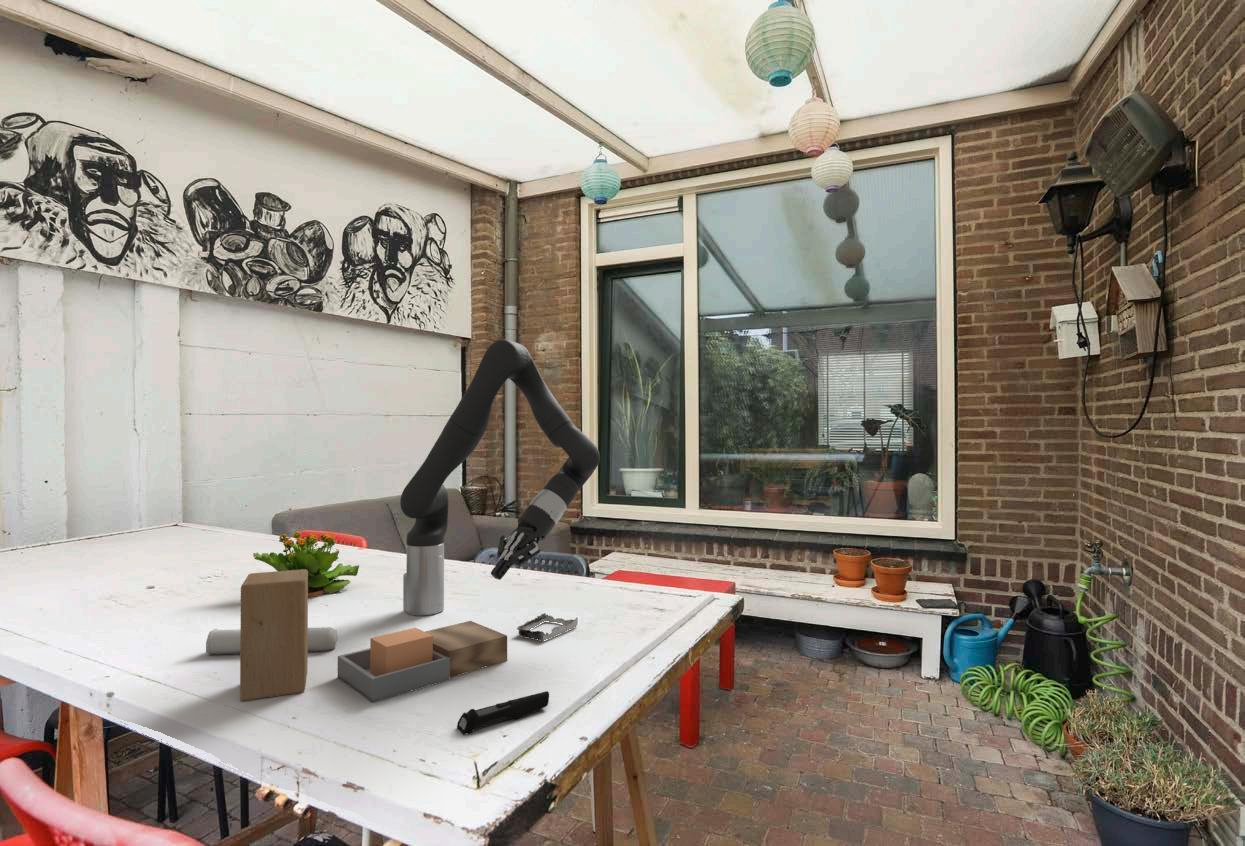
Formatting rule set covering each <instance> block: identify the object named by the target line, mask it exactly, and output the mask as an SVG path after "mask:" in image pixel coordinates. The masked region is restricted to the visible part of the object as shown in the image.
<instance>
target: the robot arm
mask: <svg viewBox="0 0 1245 846" xmlns="http://www.w3.org/2000/svg"><path fill="white" fill-rule="evenodd" d="M475 371H476V372H475V373H474V375H473V377H472V380H471V382H470V384H469V386H467V389H466V391H465V392H464V394H463V396H462V397H461V399H460V401H459V403H458V404H457V406H456V408H455V409H454V411H453V412H452V414H451V415H450V417H449V419H448V420H447V421H446V423H445V425H444V427H443V429H442V430H441V433H440V434H439V436H438V438H437V440H436V441H435V443H434V444H433V446H432V448H431V450H430V451H429V453H428V455H427V456H426V458H425V460H424V461H423V463H422V464H421V465H420V467H419V469H418V470H417V471H416V473H414V474H413V476H412V477H411V479H410V480H409V481H408V483H407V484H406V485H405V487H404V489H403V490H402V492H401V496H400V502H399V504H400V509H401V511H402V513H403V514H404V515H405V517H408V518H410V519H415V523H414V524H413V527H411V529H410V530H409V531H408V532H407V534H406V572H404V574H403V577H402V578H403V579H402V581H403V582H402V583H403V587H402V589H403V591H402V593H403V595H402V598H403V599H402V605H403V606H402V610H403V612H406V613H407V614H408V615H411V616H430V615H435V614H438V613H442V612H443V611H444V609H445V536H446V533H447V530H448V522H449V521H448V520H449V495H448V491H447V489H446V487H445V485H444V483H445V481H446V480H447V478H448V477H449V476H450V475H451V473H453V472H454V471H455V470H456V469H457V468H458V467H459V466H460V465H462V464H463V462H465V460H467V459H468V458H469V456H471V455H472V453H473V452H474V451H475V449H476V448H477V446H478V445H479V443H480V441H481V440H482V438H483V436H484V434H485V433H486V431H487V429H488V426H489V422H490V419H491V415H492V414H491V412H492V408H493V403H494V401H495V398H496V397H497V394H498V393H499V391H500V390H501V388H502V387H503V385H504V384H505V383H506V381H507V380H510V381H511V382H512V383H513V384H514V385H516V386H517V388H518V389H519V390H520V392H522V394H523V395H524V397H525V398H526V401H527V402H528V404H529V407H530V409H531V412H532V415H533V417H534V419H535V421H536V423H537V425H538V426H539V428H540V429H541V431H542V432H543V434H545V436H546V438H547V439H548V440H549V442H550V443H551V444H552V445H553V446H554V447H556V448H561V449H562V450H564V452H565V453H566V454H567V456H568V457H567V459H566V460H565V461H564V463H563V465H562V466H561V467H560V469H559V470H558V471H557V473H556V474H554V475H553V476H552V477H551V478H550V479H549V481H548V482H547V483H546V484H545V486H543V488H542V489H541V490H540V492H538V493H537V494H536V495H535V497H534V498H533V499H532V500H531V502H530V503H529V504H528V505H527V507H526V508H525V509H524V511H523V512H522V513H521V514H520V516H519V517H518V518H517V527H516V528H515V529H514V530H513V531H512V532H511V533H510V535H508V536H505V534H504V535H501V536H500V538H499V543H498V548H497V552H496V555H497V557H499V560H498V562H497V563H496V564H495V565H494V567H493V568H492V570H491V571H490V575H491V576H492V577H493V578H494V579H496V580H499V581H501V580H502V579H503V578H504V576H505V575H506V574H507V572H508V571H509V570H510V568H513V567H514V566H517V567H519V566H521V565H523V564H524V563H526V562H527V561H529V560H531V559H532V558H534V557H535V556H537V555H538V554H540V552H541V549H540V548H539V546H538V544H539V543H540V541H544V540H546V539H547V537H548V536H549V534H551V532H552V530H553V529H554V528H555V526H556V525H557V524H558V522H559V521H560V520H561V518H562V517H563V514H565V512H566V510H567V508H568V507H569V505H570V504H571V503H572V501H574V499H575V498H576V496H577V494H578V492H579V491H580V489H581V488H582V487H583V486H584V485H585V484H586V482H587V481H588V480H589V479H590V478H591V477H592V475H593V474H594V472H595V470H597V467H598V466H599V465H600V462H601V454H600V450H599V449H598V448H597V446H596V444H595V443H594V442H593V441H592V439H590V437H588V436H587V435H586V434H585V433H584V432H582V431H581V430H580V429H579V428H577V426H576V425H575V424H574V422H573V421H572V419H571V418H570V417H569V416H568V414H567V412H566V411H565V410H564V409H563V407H562V405H560V403H559V402H558V400H557V399H556V398H555V396H554V394H553V393H552V392H551V390H550V389H549V387H548V385H547V384H546V382H545V381H544V379H543V377H542V375H541V373H540V371H539V370H538V367H537V365H536V364H535V362H534V359H533V357H532V355H531V353H530V352H529V350H528V349H527V348H526V347H525V346H524V345H523V344H521V343H519V342H516V341H512V340H510V339H503V338H502V339H501V338H500V339H498V340H495V341H493V342H492V343H491V344H490V345H489V346H488V347H487V349H486V351H485V352H484V354H483V356H482V358H481V359H480V362H479V365H478V367H477V369H476V370H475Z"/></svg>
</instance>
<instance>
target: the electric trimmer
mask: <svg viewBox="0 0 1245 846" xmlns="http://www.w3.org/2000/svg"><path fill="white" fill-rule="evenodd" d="M549 702H550V692H549V691H548V690H547V691H542V692H538V693H535V694H534V693H533V694H531V695H526V696H522V697H519V698H514V699H510V700H509V699H508V701H504V702H499V703H496V704H493V705H490V706H486V707H483V708H482V707H481V708H479V709H475V708H471V709H469V710H468V711H467V712H463V713H462V714H461V716H460V718H459V719H458V722H457V724H456V729H457V731H459V732H460V733H461V734H462V735H463V736H464V735H471V734H472V733H473V732H474V731H476V730H478V729H481V728H485V727H488V726H491V725H494V724H497V723H500V722H501V723H502V722H504V721H507V720H518V719H521V718H523V717H525V716H527V715H531V714H532V713H535V712H537V711H540V710H541V709H544V708H547V706H548V705H549Z"/></svg>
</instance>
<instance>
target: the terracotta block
mask: <svg viewBox="0 0 1245 846" xmlns="http://www.w3.org/2000/svg"><path fill="white" fill-rule="evenodd" d="M369 641H370V645H369V648H370V674H372V675H373V676H375V677H376V676H379V675H383V674H387V673H390V672H394V671H398V670H401V669H405V668H409V667H412V666H416V665H420V664H423V663H427V662H431V661H433V636H432V635H430V634H428V633H426V632H425V631H424V630H421V629H420V628H417V627H412V628H408V629H403V630H399V631H394V632H390V633H386V634H380V635H376V636H373V637H370V640H369Z"/></svg>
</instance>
